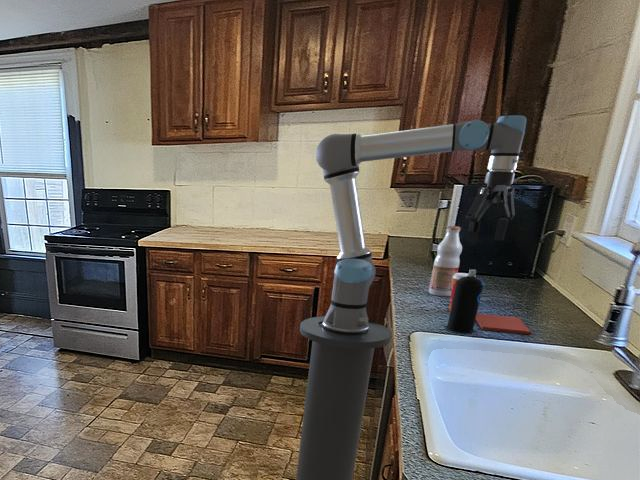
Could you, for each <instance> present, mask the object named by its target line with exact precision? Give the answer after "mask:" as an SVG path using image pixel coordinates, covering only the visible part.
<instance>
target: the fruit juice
mask: <svg viewBox="0 0 640 480" xmlns="http://www.w3.org/2000/svg"><path fill="white" fill-rule="evenodd" d="M461 229H462V227H461V226H456V225H447V227H446V233H445V236H444V237H443V239H442V240H441V241H440V243H439V244H437V248H436V252H437V253H436V254H437V255H436V257H435V258H434V260H433V261H434V262H433V266H432V267H433V268H432V272H431V277H430V280H429V281H430V282H429V286H428V294H430V295H431V296H432V295H433V296H438V297H451V291H452V284H453V276H454V274H455V273H459V268H460V263H461V260H460V259H461V258H460V255H461V254H462V251H463V245H462V243H461V241H460V232H461Z"/></svg>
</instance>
